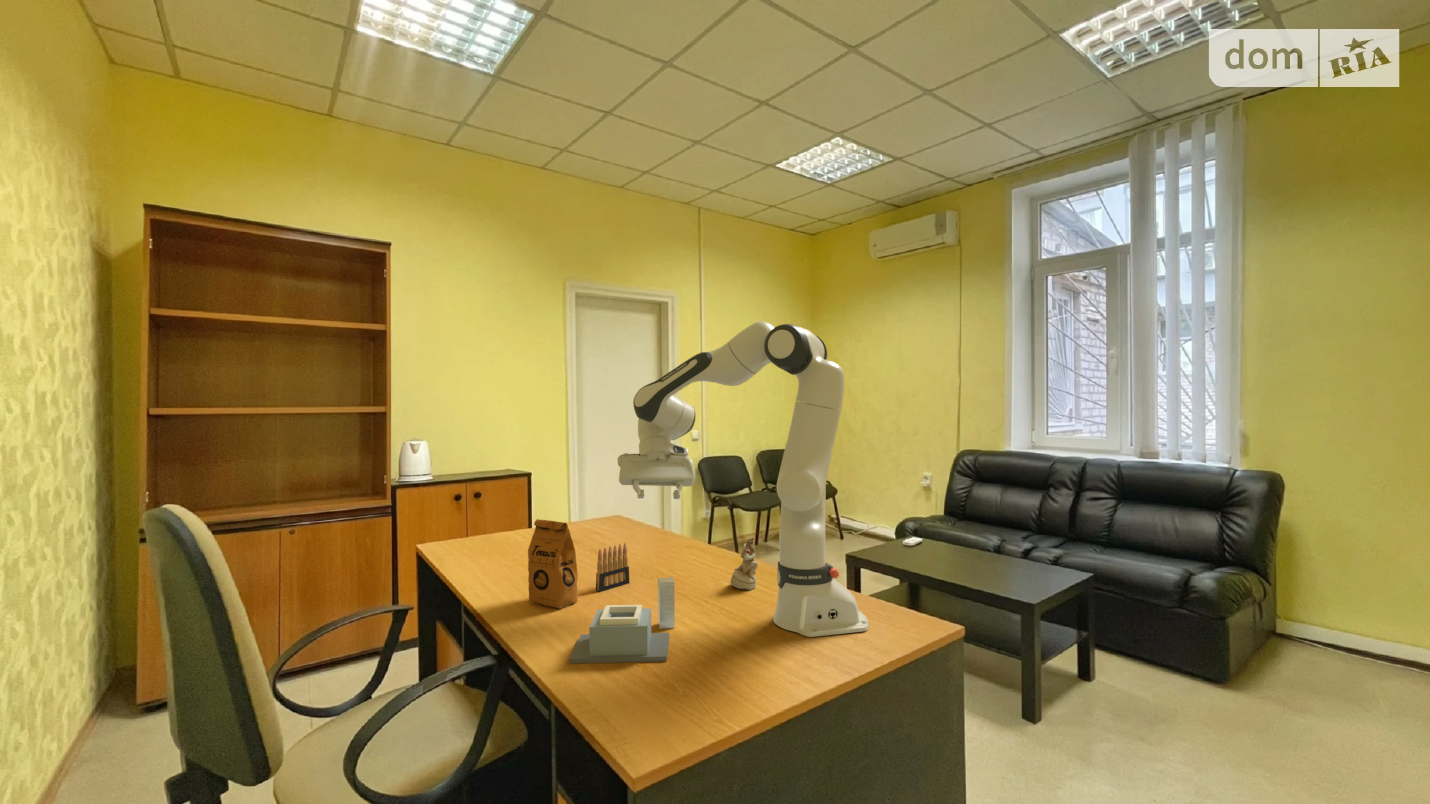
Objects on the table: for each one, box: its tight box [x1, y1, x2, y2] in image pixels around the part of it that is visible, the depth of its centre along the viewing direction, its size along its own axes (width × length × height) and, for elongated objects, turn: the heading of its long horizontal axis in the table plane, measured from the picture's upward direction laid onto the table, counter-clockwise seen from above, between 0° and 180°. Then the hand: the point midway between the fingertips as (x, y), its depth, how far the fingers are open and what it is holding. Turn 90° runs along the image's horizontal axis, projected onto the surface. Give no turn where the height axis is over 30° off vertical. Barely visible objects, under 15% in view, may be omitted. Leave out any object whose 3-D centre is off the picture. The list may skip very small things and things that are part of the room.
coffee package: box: [527, 518, 579, 610], centre depth 152 cm, size 10×12×22 cm
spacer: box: [600, 604, 643, 625], centre depth 123 cm, size 8×8×1 cm
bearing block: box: [568, 607, 670, 664], centre depth 123 cm, size 20×12×7 cm, turn 92°
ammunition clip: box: [595, 542, 631, 593], centre depth 164 cm, size 11×2×12 cm, turn 137°
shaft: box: [657, 576, 676, 630], centre depth 136 cm, size 4×4×11 cm
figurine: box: [730, 537, 759, 591], centre depth 164 cm, size 7×7×15 cm
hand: (659, 497), depth 146 cm, fingers open, 8 cm apart
